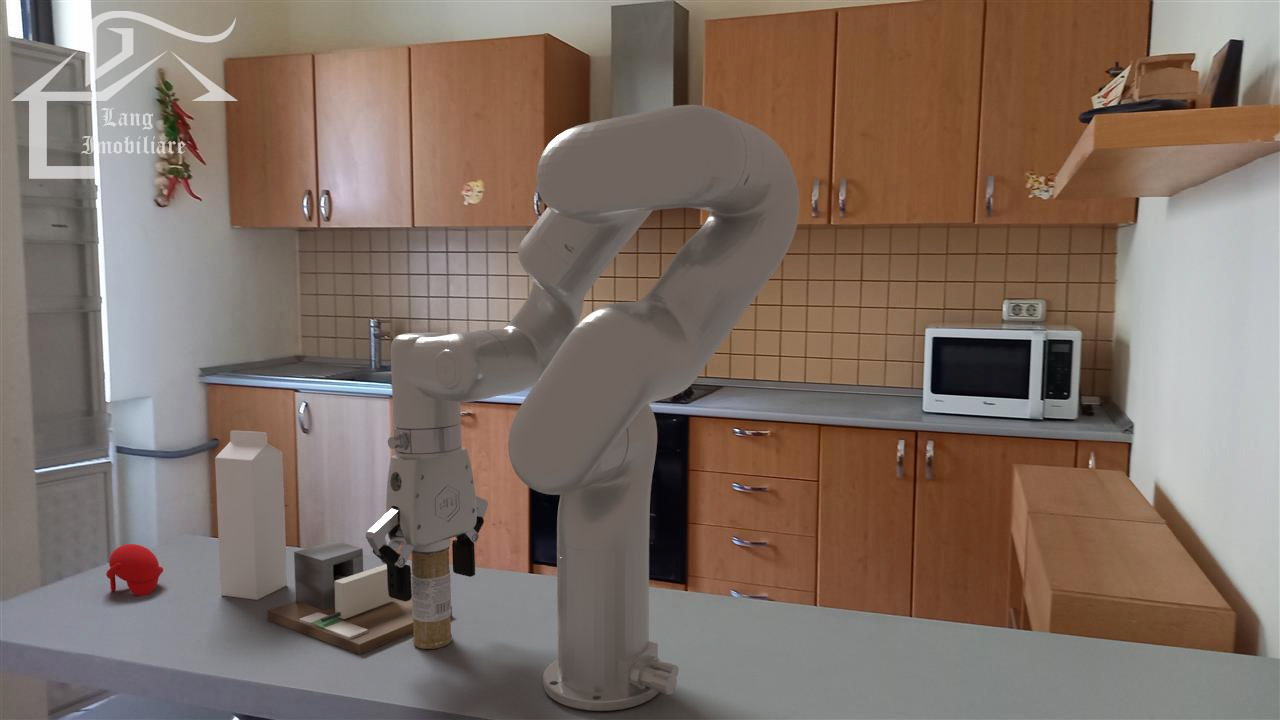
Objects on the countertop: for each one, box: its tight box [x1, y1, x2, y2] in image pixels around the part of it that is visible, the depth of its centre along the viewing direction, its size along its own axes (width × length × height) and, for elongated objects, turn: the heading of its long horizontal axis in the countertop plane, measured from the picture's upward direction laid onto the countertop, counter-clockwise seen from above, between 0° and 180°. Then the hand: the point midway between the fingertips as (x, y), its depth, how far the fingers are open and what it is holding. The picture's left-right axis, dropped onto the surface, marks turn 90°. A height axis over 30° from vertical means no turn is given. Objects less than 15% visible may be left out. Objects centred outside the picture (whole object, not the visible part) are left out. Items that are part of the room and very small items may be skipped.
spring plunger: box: [321, 564, 397, 622], centre depth 108 cm, size 7×10×4 cm, turn 145°
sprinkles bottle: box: [410, 538, 453, 650], centre depth 101 cm, size 5×5×14 cm
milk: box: [214, 430, 288, 601], centre depth 118 cm, size 6×6×22 cm
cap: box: [105, 543, 164, 597], centre depth 119 cm, size 8×6×6 cm
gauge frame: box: [266, 540, 453, 656], centre depth 109 cm, size 18×14×8 cm
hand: (433, 586), depth 101 cm, fingers open, 9 cm apart
